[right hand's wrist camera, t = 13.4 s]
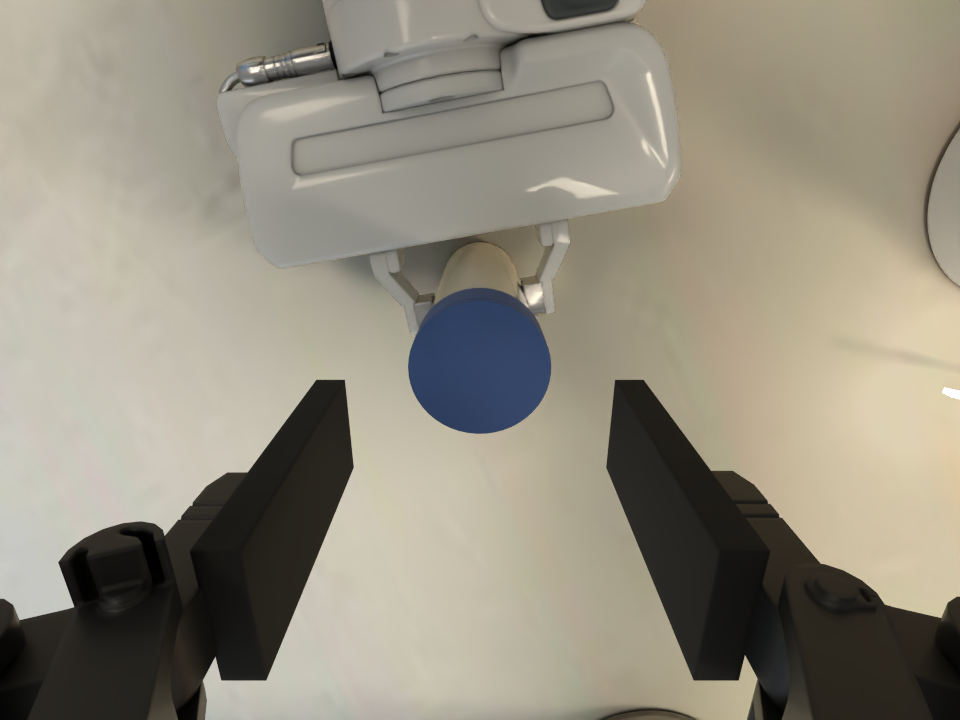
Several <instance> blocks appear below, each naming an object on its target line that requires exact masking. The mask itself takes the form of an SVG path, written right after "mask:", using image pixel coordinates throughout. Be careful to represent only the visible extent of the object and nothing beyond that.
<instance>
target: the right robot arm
mask: <svg viewBox="0 0 960 720" xmlns="http://www.w3.org/2000/svg"><path fill="white" fill-rule="evenodd" d="M353 468H354V467H353V457H352V447H351V437H350V427H349V417H348V407H347V397H346V387H345V380H316V381H315V383H314V384H313V385H312V387H311V388H310V389H309V391H308V392H307V393H306V395H305V396H304V398H303V399H302V400H301V402H300V403H299V404H298V406H297V407H296V408H295V410H294V411H293V412H292V414H291V415H290V416H289V418H288V419H287V420H286V422H285V423H284V424H283V426H282V427H281V429H280V430H279V431H278V433H277V434H276V435H275V437H274V438H273V439H272V441H271V442H270V443H269V445H268V446H267V447H266V449H265V450H264V451H263V453H262V454H261V455H260V457H259V458H258V460H257V461H256V462H255V464H254V465H253V466H252V468H251V469H250V470H249V472H248V473H226V474H225V475H223V476H222V477H220V478H219V479H217V480H216V481H214V482H212V483H211V484H209V485H208V486H206V488H205V489H204V490H203V491H202V492H201V494H200V495H199V496H198V497H197V498H196V499H195V501H194V502H193V506H190V507H189V508H188V509H187V510H186V511H185V513H184V514H183V515H182V516H181V517H182V518H181V520H178V521H177V522H176V523H175V525H174V526H173V527H172V528H171V529H170V531H169V532H168V533H167V534H166V535H165V536H164V533H163V530H162V529H161V528H160V527H158V526H157V525H156V524H153V523H147V522H131V523H123V524H119V525H116V526H112V527H109V528H106V529H103V530H101V531H98V532H96V533H94V534H92V535H90V536H88V537H86V538H84V539H83V540H81V541H80V542H79V543H77V544H76V545H74V546H73V547H72V548H70V549H69V550H68V551H67V552H66V553H65V555H64V556H63V557H62V558H61V560H60V561H59V562H58V563H59V565H60V568H61V571H62V574H63V576H64V579H65V582H66V585H67V587H68V590H69V593H70V596H71V599H72V601H73V604H74V608H70V609H67V610H62V611H58V612H54V613H49V614H45V615H41V616H36V617H32V618H28V619H23V620H19V618H18V616H17V613H16V611H15V609H14V606H13V605H12V604H11V603H9V602H8V601H6V600H5V599H0V720H205V713H206V703H207V699H206V693H205V687H204V683H203V679H204V677H205V675H206V673H207V671H208V669H209V668H210V666H211V664H212V662H213V660H214V658H215V656H216V660H217V664H218V668H219V672H220V676H221V680H267V677H268V675H269V672H270V670H271V667H272V665H273V663H274V660H275V658H276V655H277V653H278V650H279V648H280V646H281V643H282V641H283V638H284V636H285V633H286V631H287V628H288V626H289V624H290V621H291V619H292V616H293V614H294V611H295V609H296V607H297V604H298V602H299V599H300V597H301V594H302V592H303V589H304V587H305V585H306V582H307V580H308V577H309V575H310V572H311V570H312V568H313V565H314V563H315V560H316V558H317V555H318V553H319V551H320V548H321V546H322V543H323V541H324V538H325V536H326V533H327V531H328V529H329V526H330V524H331V521H332V519H333V516H334V514H335V512H336V509H337V507H338V504H339V502H340V499H341V497H342V495H343V492H344V490H345V487H346V485H347V482H348V480H349V477H350V475H351V473H352V470H353ZM606 468H607V470H608V473H609V475H610V477H611V480H612V482H613V485H614V487H615V490H616V492H617V495H618V497H619V499H620V502H621V504H622V507H623V509H624V512H625V514H626V516H627V519H628V521H629V524H630V526H631V529H632V531H633V533H634V536H635V538H636V541H637V543H638V546H639V548H640V551H641V553H642V555H643V558H644V560H645V563H646V565H647V568H648V570H649V572H650V575H651V577H652V580H653V582H654V585H655V587H656V590H657V592H658V594H659V597H660V599H661V602H662V604H663V607H664V609H665V611H666V614H667V616H668V619H669V621H670V624H671V626H672V628H673V631H674V633H675V636H676V638H677V641H678V643H679V646H680V648H681V650H682V653H683V655H684V658H685V660H686V663H687V665H688V667H689V670H690V672H691V675H692V677H693V680H739V676H740V672H741V668H742V664H743V660H744V656H745V655H746V657H747V659H748V661H749V663H750V665H751V667H752V669H753V670H754V672H755V674H756V676H757V678H758V680H757V683H756V687H755V691H754V695H753V699H752V702H751V706H750V710H749V714H748V717H747V720H960V597H956V598H954V599H953V600H951V601H950V602H948V604H947V606H946V609H945V611H944V613H943V616H942V618H938V617H934V616H929V615H925V614H921V613H916V612H912V611H908V610H903V609H899V608H894V607H891V606H887V605H885V604H884V603H883V601H882V600H881V599H880V597H879V596H878V594H877V593H876V592H875V591H874V590H873V589H871V588H870V587H869V586H868V585H867V584H865V583H864V582H863V581H862V580H860V579H858V578H856V577H854V576H853V575H851V574H849V573H847V572H845V571H843V570H840V569H837V568H834V567H831V566H828V565H825V564H820V563H819V561H818V560H817V559H816V558H815V557H814V555H813V554H812V553H811V552H810V551H809V549H808V548H807V547H806V546H805V545H804V544H803V542H802V541H801V540H800V539H799V538H798V536H797V535H796V534H795V533H794V532H793V531H792V529H791V528H790V527H789V526H788V525H787V523H786V522H785V521H784V520H783V519H782V518H779V514H778V513H777V512H776V510H775V509H774V508H773V507H772V506H771V504H768V501H767V500H766V498H765V497H764V496H763V495H762V494H761V493H760V491H759V490H758V489H757V488H756V487H755V485H754V484H752V483H750V482H749V481H747V480H746V479H744V478H743V477H741V476H740V475H738V474H737V473H735V472H734V471H711V470H710V469H709V468H708V466H707V465H706V464H705V462H704V461H703V460H702V458H701V457H700V455H699V454H698V453H697V451H696V450H695V449H694V447H693V446H692V445H691V443H690V442H689V441H688V439H687V438H686V437H685V435H684V434H683V433H682V431H681V430H680V429H679V427H678V426H677V424H676V423H675V422H674V420H673V419H672V418H671V416H670V415H669V414H668V412H667V411H666V410H665V408H664V407H663V406H662V404H661V403H660V402H659V400H658V399H657V398H656V396H655V395H654V393H653V392H652V391H651V389H650V388H649V387H648V385H647V384H646V383H645V381H644V380H615V387H614V397H613V407H612V417H611V427H610V437H609V447H608V457H607V467H606ZM604 720H694V719H691V718H689V717H686V716H683V715H680V714H676V713H672V712H666V711H653V710H646V711H634V712H628V713H623V714H619V715H615V716H612V717H609V718H607V719H604Z"/></svg>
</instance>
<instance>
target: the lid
mask: <svg viewBox="0 0 960 720" xmlns="http://www.w3.org/2000/svg"><path fill="white" fill-rule="evenodd" d="M408 371H409V379H410V383H411V386H412V389H413V392H414V394H415V396H416V398H417V400H418V401H419V403H420V404H421V405H422V407H423V408H424V409H425V410H426V411H427V412H428V413H429V414H430V415H431V416H432V417H433V418H435V419H436V420H437V421H439V422H440V423H442V424H444V425H446V426H448V427H450V428H452V429H455V430H458V431H462V432H467V433H476V434H482V433H493V432H497V431H501V430H504V429H507V428H510V427H512V426H514V425H516V424H517V423H519V422H521V421H522V420H524V419H525V418H526V417H527V416H528V415H530V414H531V413H532V412H533V411H534V410H535V408H536V407H537V406H538V405H539V403H540V402H541V400H542V399H543V397H544V395H545V393H546V391H547V388H548V385H549V381H550V375H551V359H550V354H549V350H548V346H547V344H546V341H545V338H544V335H543V333H542V330H541V328H540V325H539V323H538V321H537V319H536V318H535V316H534V315H533V313H532V312H531V311H530V310H529V309H528V308H527V307H526V306H525V305H524V304H523V303H522V302H521V301H519V300H518V299H517V298H515V297H513V296H511V295H509V294H507V293H505V292H502V291H499V290H495V289H490V288H470V289H464V290H461V291H457V292H455V293H452V294H450V295H448V296H446V297H445V298H443V299H441V300H440V301H439V302H438V303H436V304H435V305H434V306H433V307H432V308H431V309H430V310H429V311H428V313H427V314H426V315H425V317H424V318H423V320H422V322H421V324H420V326H419V329H418V331H417V334H416V337H415V339H414V342H413V345H412V348H411V351H410V355H409V363H408Z"/></svg>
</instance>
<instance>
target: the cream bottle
mask: <svg viewBox="0 0 960 720" xmlns="http://www.w3.org/2000/svg"><path fill="white" fill-rule="evenodd" d="M470 288H490V289H495V290H499V291H502V292H505V293H507V294H509V295H511V296H513V297H515V298H517V299H518V300H519V301H521V302H522V303H523V304H524V305H525V306H526V307H527V308H528V305H527V302H526V299H525V296H524V293H523V290H522V287H521V284H520V281H519V278H518V275H517V272H516V269H515V266H514V263H513V261H512V260H511V258H510V257H509V256H508V254H507V253H506V252H505V251H503V250H502V249H501V248H499V247H497V246H495V245H493V244H490V243H484V242H476V243H471V244H467V245H465V246H463V247H461V248H460V249H458V250H457V251H456V252H455V253H454V254H453V255H452V256H451V257H450V259H449V260H448V262H447V264H446V267H445V269H444V272H443V275H442V278H441V281H440V284H439V287H438V290H437V293H436V296H435V298H434V301H433V304H432V307H433V306H434V305H435V304H436V303H438V302H439V301H440V300H441V299H443V298H445V297H446V296H448V295H450V294H452V293H455V292H457V291H461V290H464V289H470ZM432 307H431V308H432ZM528 309H529V308H528Z"/></svg>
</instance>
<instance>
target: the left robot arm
mask: <svg viewBox="0 0 960 720" xmlns="http://www.w3.org/2000/svg"><path fill="white" fill-rule="evenodd" d="M645 2H646V0H322V3H323V8H324V12H325V16H326V21H327V26H328V30H329V34H330V37H331V40H330V42H328V43H320V44H317V45H313V46H308V47H303V48H298V49H295V50H292V51H289V52H287V53H283V54H281V55H276V56H272V57H267V58H266V57H265V56H259V57H253V58H249V59H246V60H244V61H241V62H239V63H238V64H237V65H236V72H235V73H233V74H232V75H230V76H229V77H228V78H227V79H226V80H225V81H224V83H223V84H222V86H221V88H220V91H219V94H218V96H217V102H216V103H217V111H218V115H219V118H220V122H221V125H222V128H223V131H224V134H225V138H226V141H227V143H228V145H229V147H230V149H231V151H232V152H233V154H234V155H235V156H236V158H237V162H238V170H239V176H240V182H241V189H242V194H243V199H244V204H245V209H246V214H247V218H248V222H249V226H250V230H251V234H252V238H253V241H254V245H255V247H256V250H257V251H258V253H259V254H260V255H261V256H263V257H264V258H265V259H266V260H267V261H269V262H270V263H271V264H272V265H274V266H275V267H277V268H279V269H284V268H291V267H296V266H302V265H308V264H313V263H319V262H325V261H331V260H336V259H342V258H348V257H353V256H359V255H365V254H369V258H370V262H371V266H372V270H373V275H374V277H375V278H376V279H377V280H378V281H379V282H380V283H381V285H382V286H383V287H384V288H385V289H386V290H387V291H388V292H389V293H390V294H391V295H392V296H393V297H394V298H395V299H396V301H397V302H398V303H399V304H400V305H404V309H405V314H406V318H407V322H408V327H409V331H410V334H411V336H415V335H416V334H417V331H418V329H419V326H420V324H421V322H422V320H423V318H424V317H425V315H426V314H427V313H428V311H429V310H430V309H431V307H432V304H433V301H434V298H435V294H434V293H431V294H424V295H420V294H419V293H418V292H417V291H416V290H415V288H414V287H413V286H412V285H411V284H410V283H409V281H408V280H407V279H406V278H405V277H404V275H403V274H402V273H401V272H400V270H401V268H402V267H403V266H404V264H405V263H406V259H405V254H404V249H403V248H405V247H410V246H416V245H422V244H428V243H433V242H439V241H445V240H450V239H456V238H462V237H467V236H473V235H479V234H485V233H490V232H496V231H502V230H507V229H513V228H519V227H525V226H530V225H535V227H536V234H537V239H538V241H539V242H540V244H541V245H542V246H544V247H546V248H545V251H544V253H543V256H542V259H541V261H540V264H539V266H538V269H537V271H536V274H535V276H530V277H525V278H520V279H521V286H522V290H523V293H524V296H525V299H526V302H527V305H528V308H529V310H530V311H531V312H532V313H533V315H534V316H537V315H543V314H549V313H555V304H554V296H553V288H552V280H554V279H555V276H556V274H557V272H558V269H559V267H560V265H561V263H562V260H563V258H564V256H565V253H566V251H567V249H568V247H569V244H570V238H569V228H568V219H570V218H576V217H582V216H587V215H593V214H599V213H604V212H610V211H616V210H622V209H627V208H633V207H639V206H644V205H650V204H655V203H661V202H663V201H665V200H666V199H667V198H668V196H669V195H670V193H671V192H672V190H673V189H674V187H675V185H676V183H677V182H678V180H679V178H680V175H681V148H680V135H679V125H678V117H677V109H676V102H675V96H674V90H673V84H672V79H671V73H670V69H669V65H668V61H667V58H666V55H665V53H664V50H663V48H662V46H661V45H660V43H659V41H658V40H657V39H656V37H655V36H654V35H653V34H652V33H651V32H650V31H648V30H647V29H645V28H644V27H642V26H640V25H637V24H633V23H631V22H632V21H633V20H634V19H635V18H636V17H637V15H638V14H639V13H640V11H641V9H642V8H643V6H644V4H645ZM288 78H289V79H288ZM290 78H291V79H290ZM282 79H286V80H282ZM279 80H281V81H279ZM274 81H276V82H274ZM239 82H241V83H242V84H243V85H244V86H245V87H246V88H241V89H236V90H232V89H233V87H234V86H235V85H236V84H238V83H239ZM927 223H928V234H929V240H930V244H931V248H932V251H933V253H934V256H935V258H936V260H937V262H938V264H939V266H940V267H941V269H942V270H943V271H944V273H945V274H946V275H947V276H948V277H949V278H950V279H951V280H952V281H953V282H954V283H955V284H957V285H958V286H959V287H960V129H959V130H958V132H957V133H956V135H955V136H954V138H953V139H952V141H951V143H950V144H949V146H948V148H947V150H946V152H945V154H944V156H943V158H942V160H941V162H940V164H939V167H938V169H937V172H936V175H935V178H934V181H933V184H932V188H931V192H930V197H929V203H928V216H927ZM943 393H945V394H947V395H949V396H951V397H954V398H959V399H960V391H956V390H952V389H947V388H945V389H944V390H943Z"/></svg>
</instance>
